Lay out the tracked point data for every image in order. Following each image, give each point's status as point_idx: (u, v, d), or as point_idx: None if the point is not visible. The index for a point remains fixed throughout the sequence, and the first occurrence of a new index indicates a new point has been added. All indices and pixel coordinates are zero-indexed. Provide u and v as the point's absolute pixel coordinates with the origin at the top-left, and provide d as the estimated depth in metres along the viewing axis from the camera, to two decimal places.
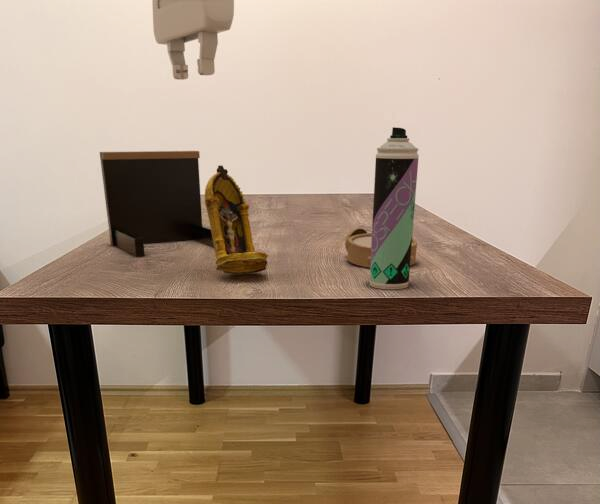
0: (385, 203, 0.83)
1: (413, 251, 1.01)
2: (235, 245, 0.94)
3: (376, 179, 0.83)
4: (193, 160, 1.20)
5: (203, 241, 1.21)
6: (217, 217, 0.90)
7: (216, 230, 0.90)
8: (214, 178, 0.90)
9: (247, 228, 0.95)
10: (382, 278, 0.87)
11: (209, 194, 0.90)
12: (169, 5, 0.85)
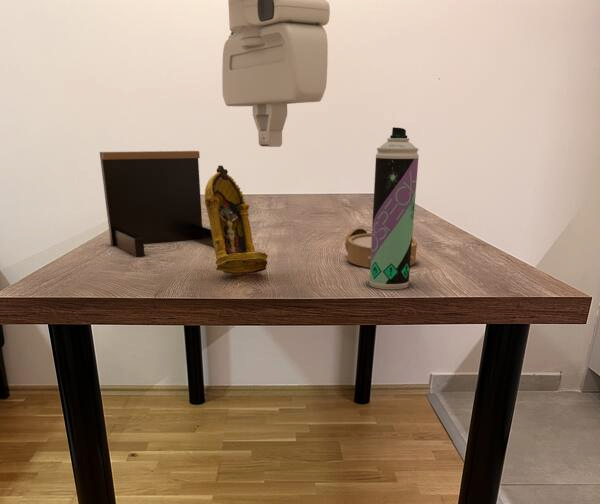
0: (385, 203, 0.83)
1: (413, 251, 1.01)
2: (235, 245, 0.94)
3: (376, 179, 0.83)
4: (193, 160, 1.20)
5: (203, 241, 1.21)
6: (217, 217, 0.90)
7: (216, 230, 0.90)
8: (214, 178, 0.90)
9: (247, 228, 0.95)
10: (382, 278, 0.87)
11: (209, 194, 0.90)
12: (246, 69, 0.76)
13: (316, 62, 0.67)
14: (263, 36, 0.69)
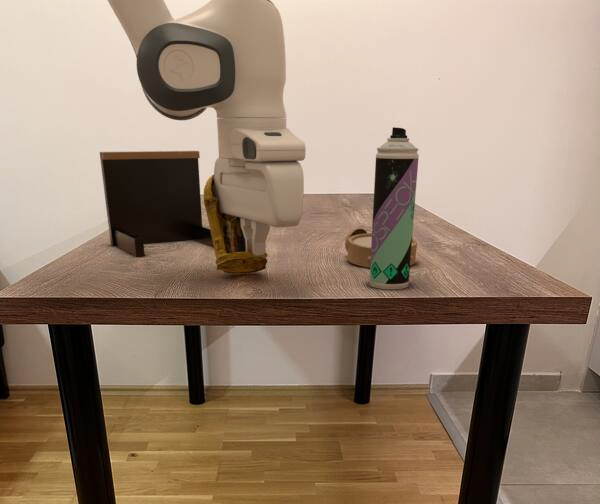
0: (385, 203, 0.83)
1: (413, 251, 1.01)
2: (234, 245, 0.94)
3: (376, 179, 0.83)
4: (193, 160, 1.20)
5: (203, 241, 1.21)
6: (216, 217, 0.90)
7: (216, 230, 0.90)
8: (212, 178, 0.91)
9: None
10: (382, 278, 0.87)
11: (208, 194, 0.90)
12: (234, 187, 0.85)
13: (293, 195, 0.77)
14: (247, 169, 0.79)
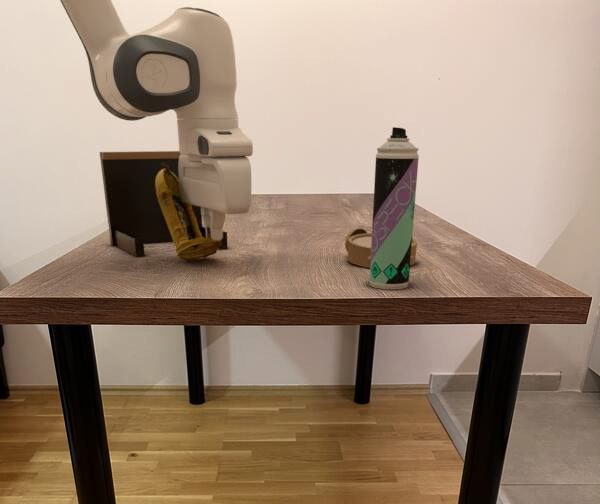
0: (385, 203, 0.83)
1: (413, 251, 1.01)
2: (187, 233, 1.04)
3: (376, 179, 0.83)
4: None
5: None
6: (174, 207, 1.00)
7: (175, 219, 1.00)
8: (163, 173, 1.00)
9: (193, 218, 1.05)
10: (382, 278, 0.87)
11: (163, 188, 0.99)
12: (194, 180, 0.97)
13: (242, 186, 0.88)
14: (203, 163, 0.90)
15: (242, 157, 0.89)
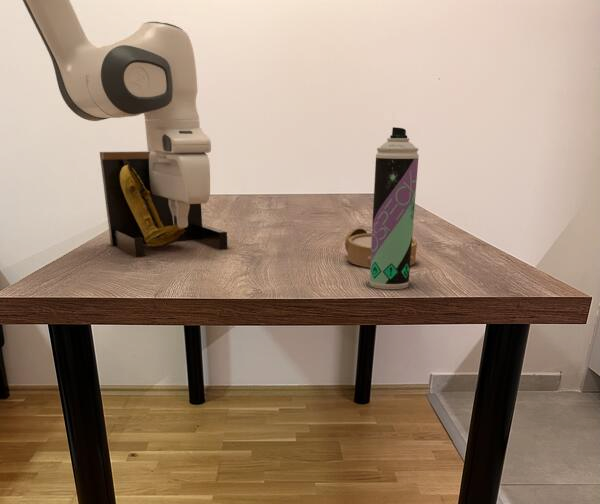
0: (385, 203, 0.83)
1: (413, 251, 1.01)
2: None
3: (376, 179, 0.83)
4: None
5: (203, 241, 1.21)
6: (142, 199, 1.10)
7: (144, 210, 1.11)
8: (128, 169, 1.11)
9: (154, 209, 1.17)
10: (382, 278, 0.87)
11: (131, 182, 1.10)
12: (161, 174, 1.09)
13: (201, 179, 1.00)
14: (167, 159, 1.02)
15: (201, 153, 1.01)
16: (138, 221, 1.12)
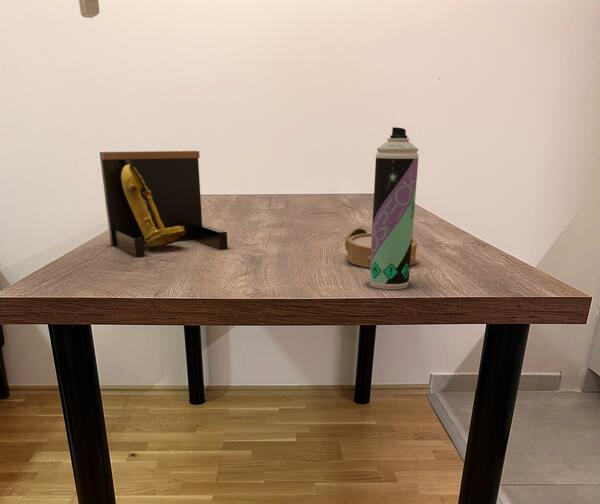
0: (385, 203, 0.83)
1: (413, 251, 1.01)
2: None
3: (376, 179, 0.83)
4: (193, 160, 1.20)
5: (203, 241, 1.21)
6: (143, 200, 1.10)
7: (145, 211, 1.10)
8: (130, 169, 1.10)
9: (155, 209, 1.16)
10: (382, 278, 0.87)
11: (132, 182, 1.10)
12: None
13: None
14: None
15: None
16: (138, 221, 1.12)
